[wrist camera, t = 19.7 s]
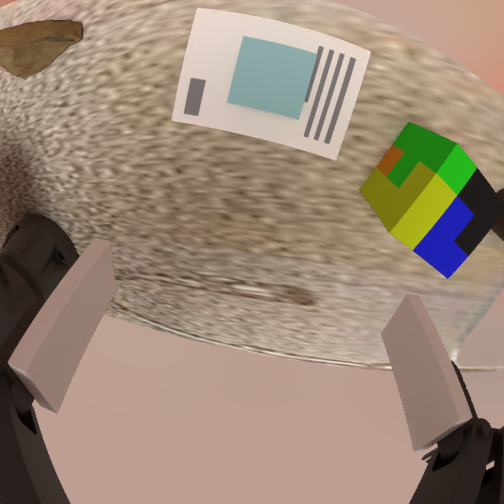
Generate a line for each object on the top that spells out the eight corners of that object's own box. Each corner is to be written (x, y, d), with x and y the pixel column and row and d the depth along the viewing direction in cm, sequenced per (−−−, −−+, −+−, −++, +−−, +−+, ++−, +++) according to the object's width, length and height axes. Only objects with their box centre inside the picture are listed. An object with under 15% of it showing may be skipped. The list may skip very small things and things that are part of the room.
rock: (87, -1, 17) (25, 2, 15) (39, 39, 15) (-22, 43, 12) (88, 66, 27) (34, 61, 24) (54, 111, 24) (0, 103, 22)
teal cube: (235, 98, 26) (226, 102, 21) (248, 45, 23) (243, 36, 18) (293, 112, 27) (298, 119, 22) (308, 59, 24) (317, 54, 19)
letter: (171, 120, 28) (171, 120, 28) (197, 8, 21) (197, 7, 21) (335, 160, 29) (336, 160, 29) (370, 51, 22) (371, 51, 22)
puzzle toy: (413, 231, 33) (447, 278, 25) (359, 189, 31) (389, 233, 23) (458, 173, 28) (505, 208, 20) (408, 121, 26) (457, 143, 18)
